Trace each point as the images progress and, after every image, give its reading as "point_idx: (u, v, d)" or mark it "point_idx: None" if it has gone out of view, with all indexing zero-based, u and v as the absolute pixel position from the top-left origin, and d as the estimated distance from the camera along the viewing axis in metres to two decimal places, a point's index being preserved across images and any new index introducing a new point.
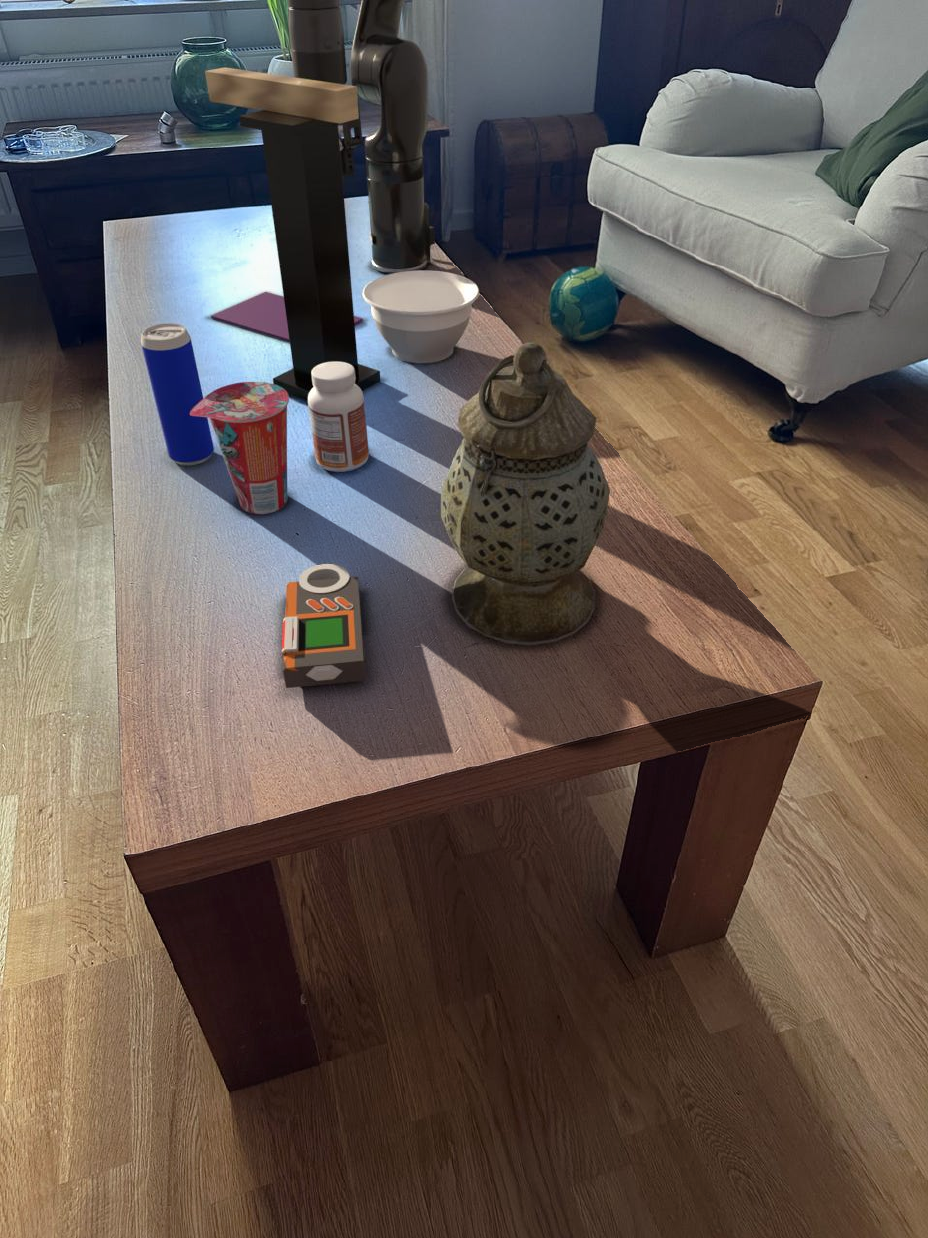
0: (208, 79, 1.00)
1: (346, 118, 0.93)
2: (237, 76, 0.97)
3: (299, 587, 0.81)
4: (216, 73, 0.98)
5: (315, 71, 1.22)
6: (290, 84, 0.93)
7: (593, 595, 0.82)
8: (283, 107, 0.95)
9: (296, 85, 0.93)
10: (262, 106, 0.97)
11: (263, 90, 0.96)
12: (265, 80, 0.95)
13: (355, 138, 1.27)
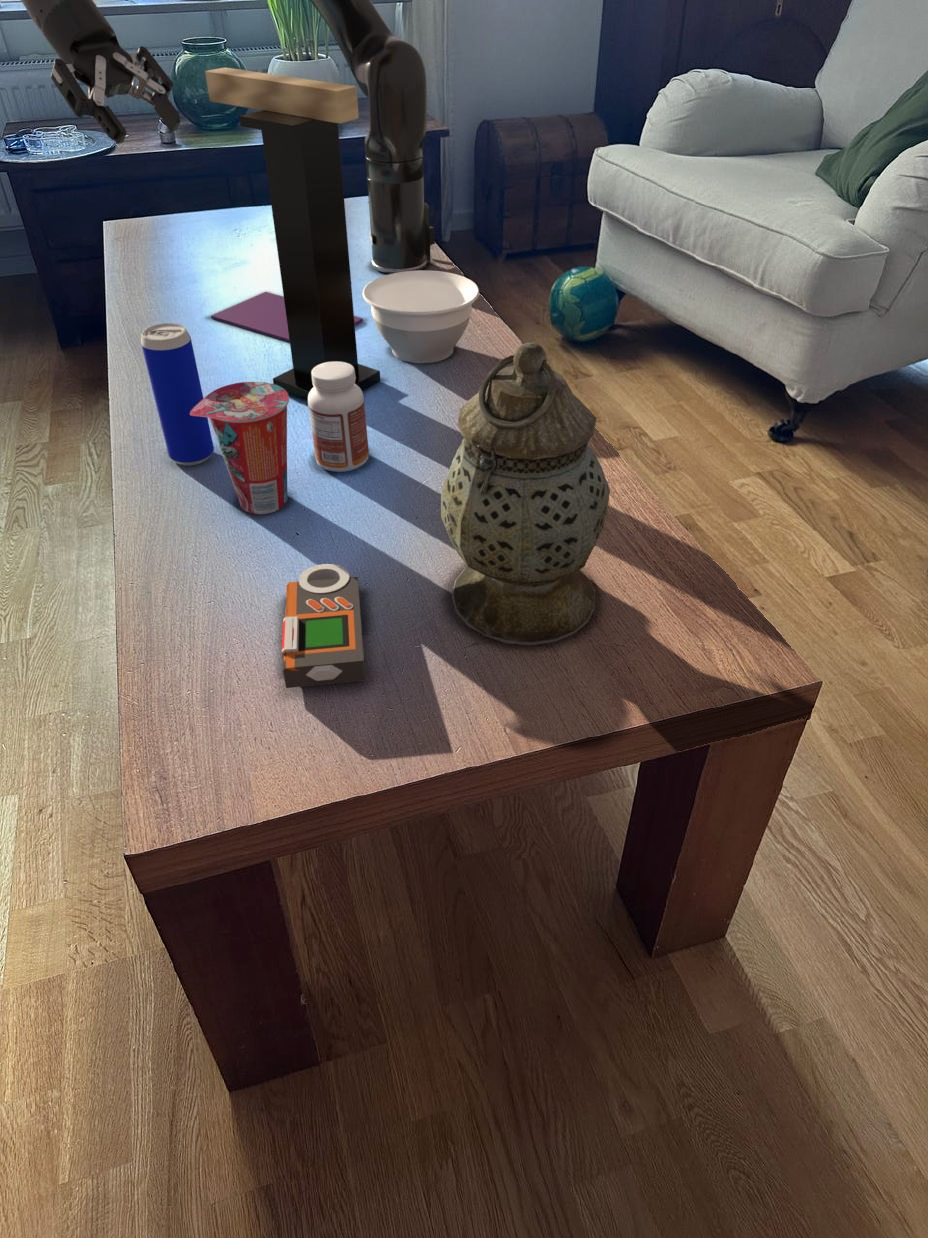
0: (208, 79, 1.00)
1: (346, 118, 0.93)
2: (237, 76, 0.97)
3: (299, 587, 0.81)
4: (216, 73, 0.98)
5: None
6: (290, 84, 0.93)
7: (593, 595, 0.82)
8: (283, 107, 0.95)
9: (296, 85, 0.93)
10: (262, 106, 0.97)
11: (263, 90, 0.96)
12: (265, 80, 0.95)
13: (76, 101, 1.07)
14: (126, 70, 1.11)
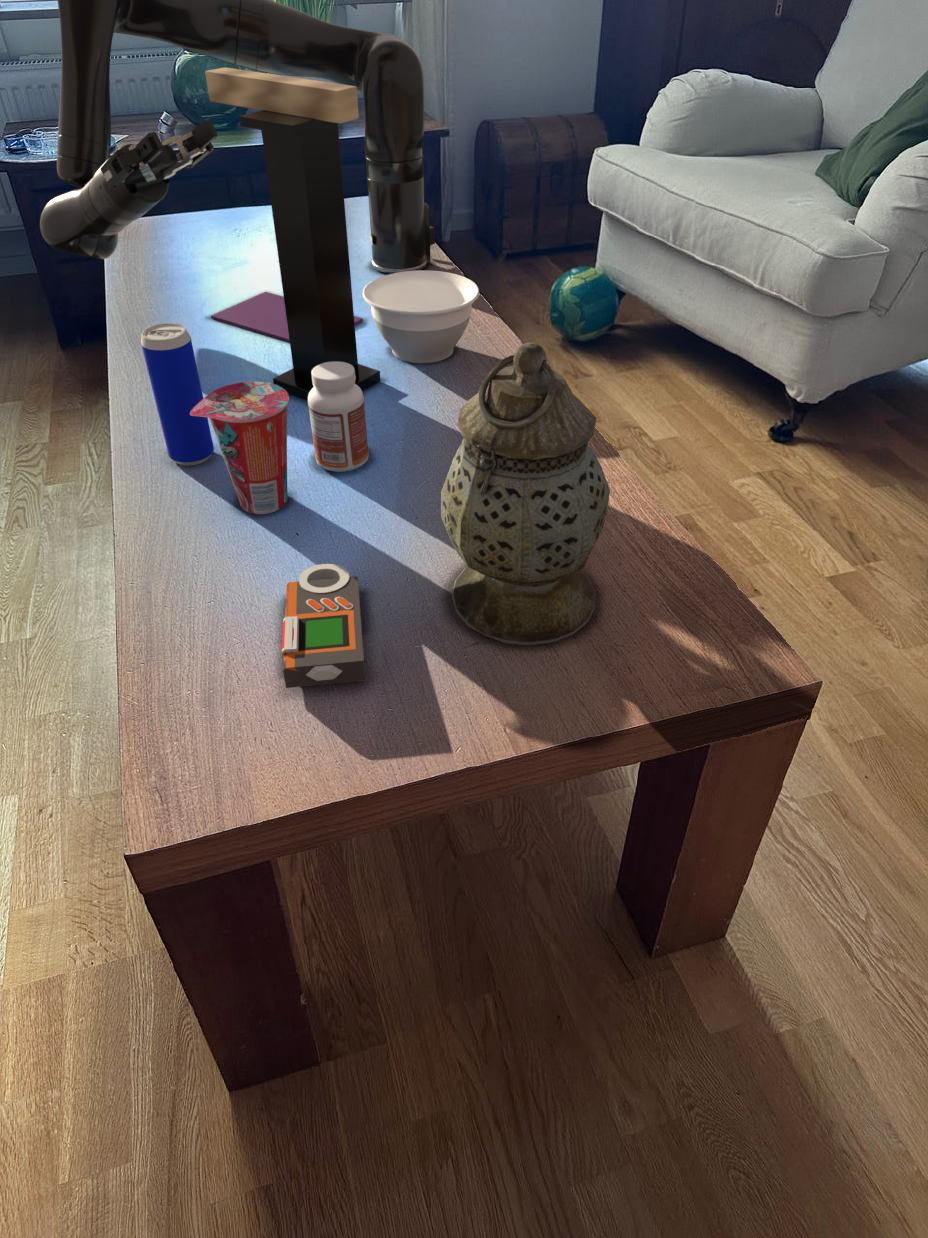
0: (208, 79, 1.00)
1: (346, 118, 0.93)
2: (237, 76, 0.97)
3: (299, 586, 0.81)
4: (216, 73, 0.98)
5: (131, 203, 1.17)
6: (290, 84, 0.93)
7: (593, 595, 0.82)
8: (283, 107, 0.95)
9: (296, 85, 0.93)
10: (262, 106, 0.97)
11: (263, 90, 0.96)
12: (265, 80, 0.95)
13: (119, 162, 1.08)
14: None
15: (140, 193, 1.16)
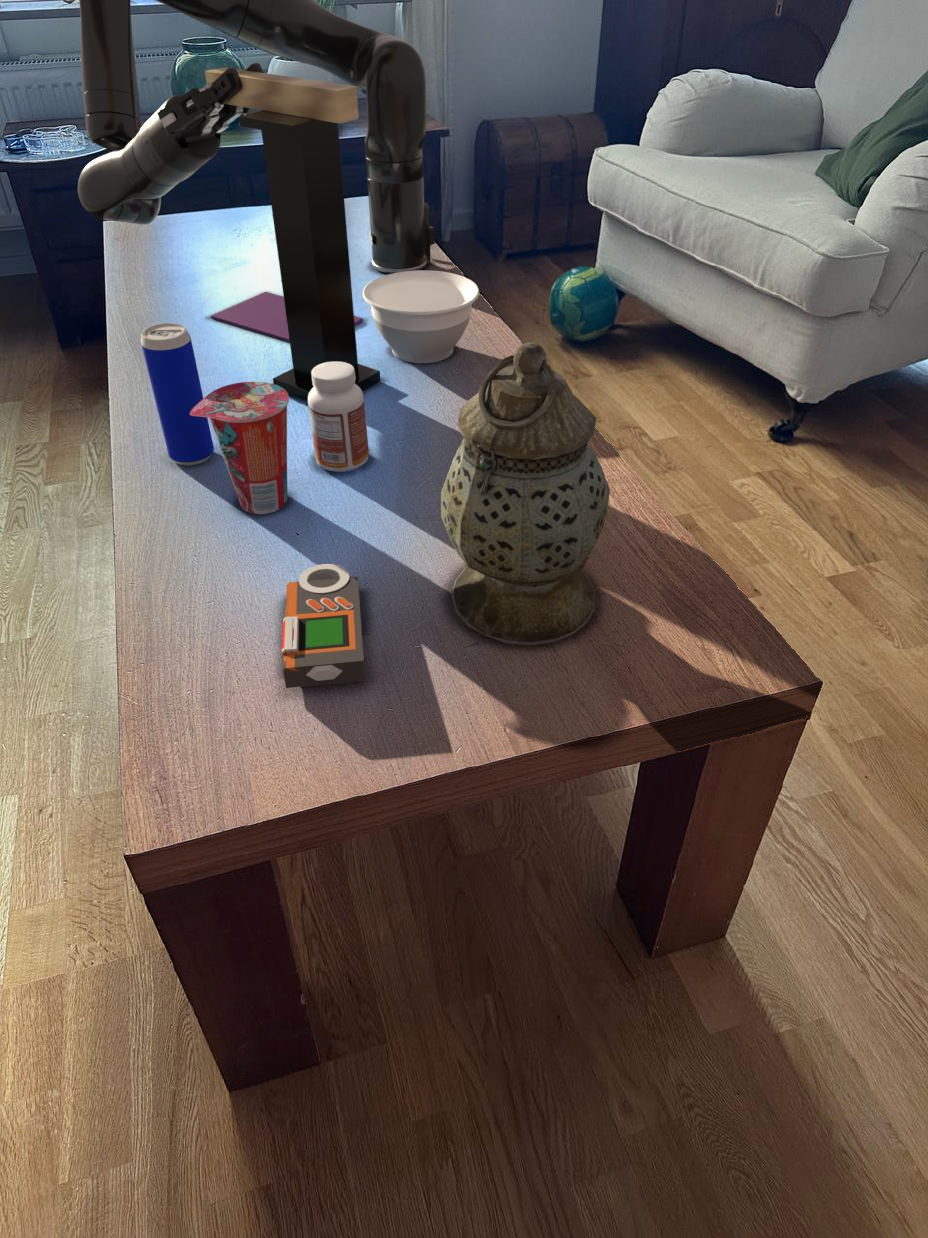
0: (208, 79, 0.99)
1: (346, 118, 0.93)
2: None
3: (299, 587, 0.81)
4: (216, 73, 0.98)
5: (180, 160, 1.07)
6: (290, 84, 0.93)
7: (593, 595, 0.82)
8: (283, 108, 0.95)
9: (296, 85, 0.93)
10: (262, 106, 0.97)
11: (263, 90, 0.96)
12: (265, 80, 0.95)
13: (193, 102, 0.99)
14: None
15: (190, 148, 1.06)
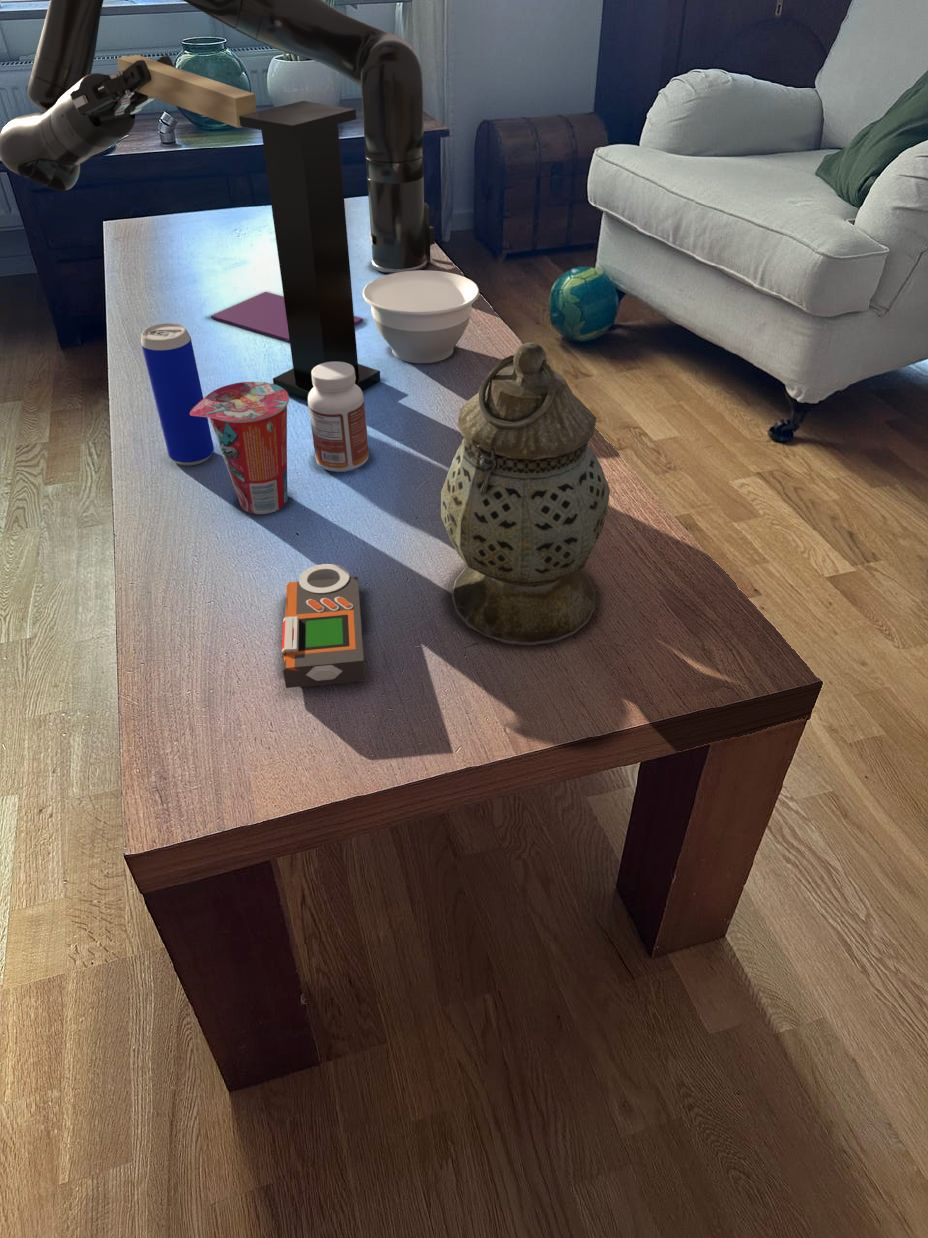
0: (120, 66, 1.05)
1: None
2: None
3: (299, 587, 0.81)
4: (127, 62, 1.04)
5: (94, 136, 1.13)
6: (193, 84, 1.00)
7: (593, 595, 0.82)
8: (188, 104, 1.02)
9: (199, 86, 0.99)
10: (169, 99, 1.03)
11: (170, 85, 1.02)
12: (171, 76, 1.01)
13: (104, 88, 1.05)
14: None
15: (104, 127, 1.12)
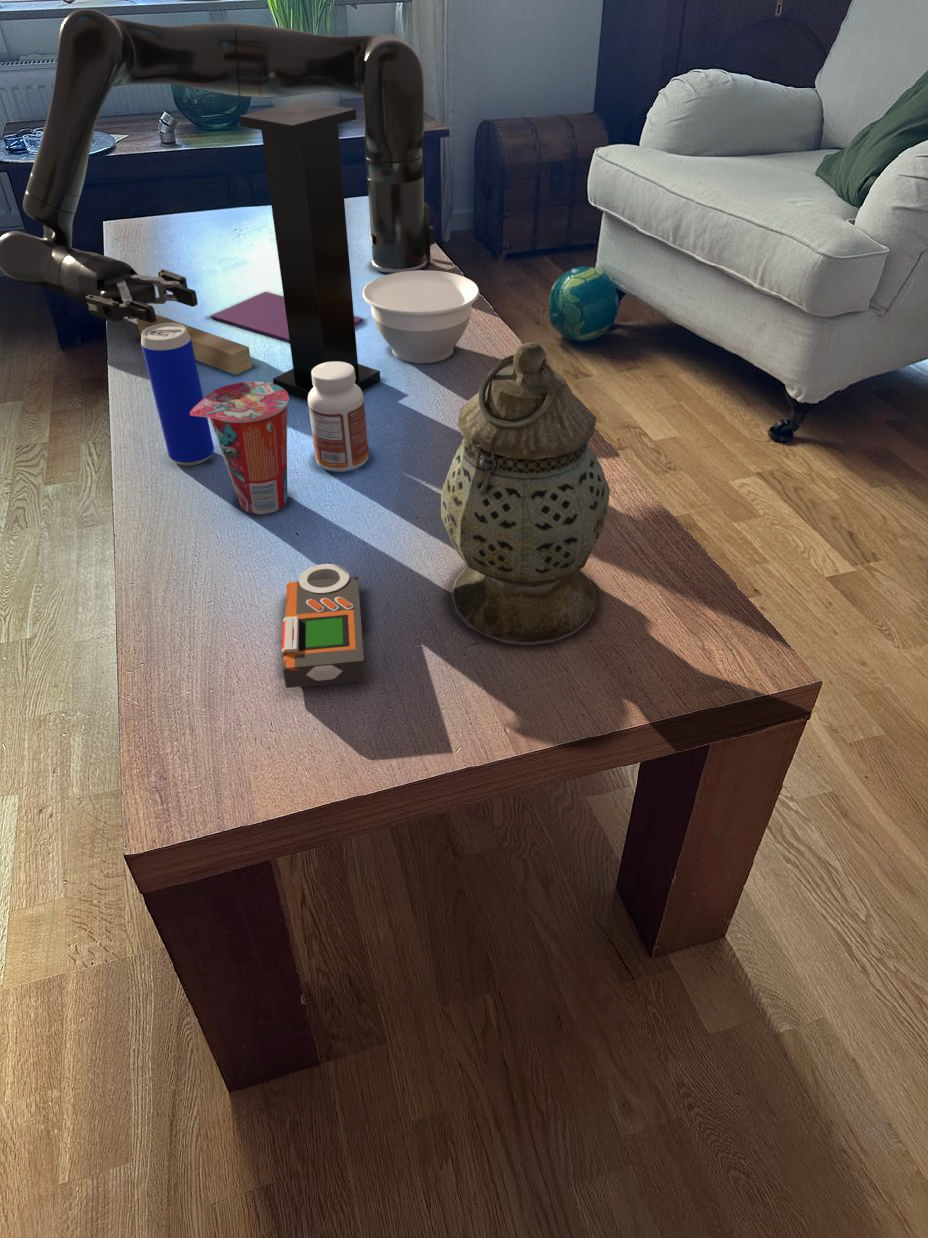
0: (139, 325, 1.27)
1: (241, 370, 1.20)
2: None
3: (299, 587, 0.81)
4: (145, 323, 1.26)
5: None
6: (198, 342, 1.21)
7: (593, 595, 0.82)
8: (195, 356, 1.23)
9: (203, 344, 1.20)
10: None
11: None
12: None
13: (111, 310, 1.21)
14: (144, 281, 1.26)
15: None
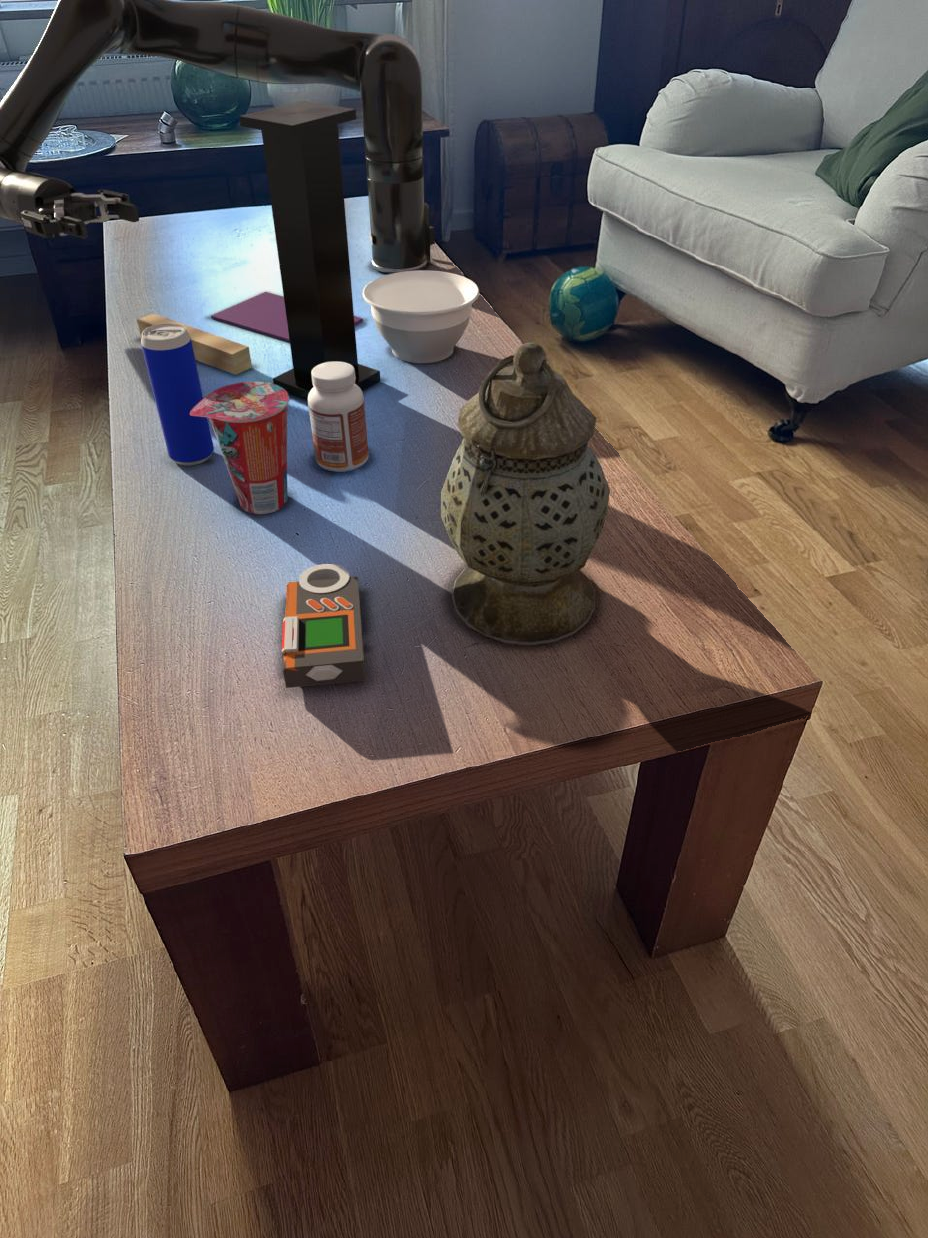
0: (139, 325, 1.27)
1: (241, 370, 1.20)
2: None
3: (299, 587, 0.81)
4: (145, 323, 1.26)
5: None
6: (198, 342, 1.21)
7: (593, 595, 0.82)
8: (195, 356, 1.23)
9: (203, 344, 1.20)
10: None
11: None
12: None
13: (42, 226, 1.19)
14: (84, 199, 1.24)
15: None
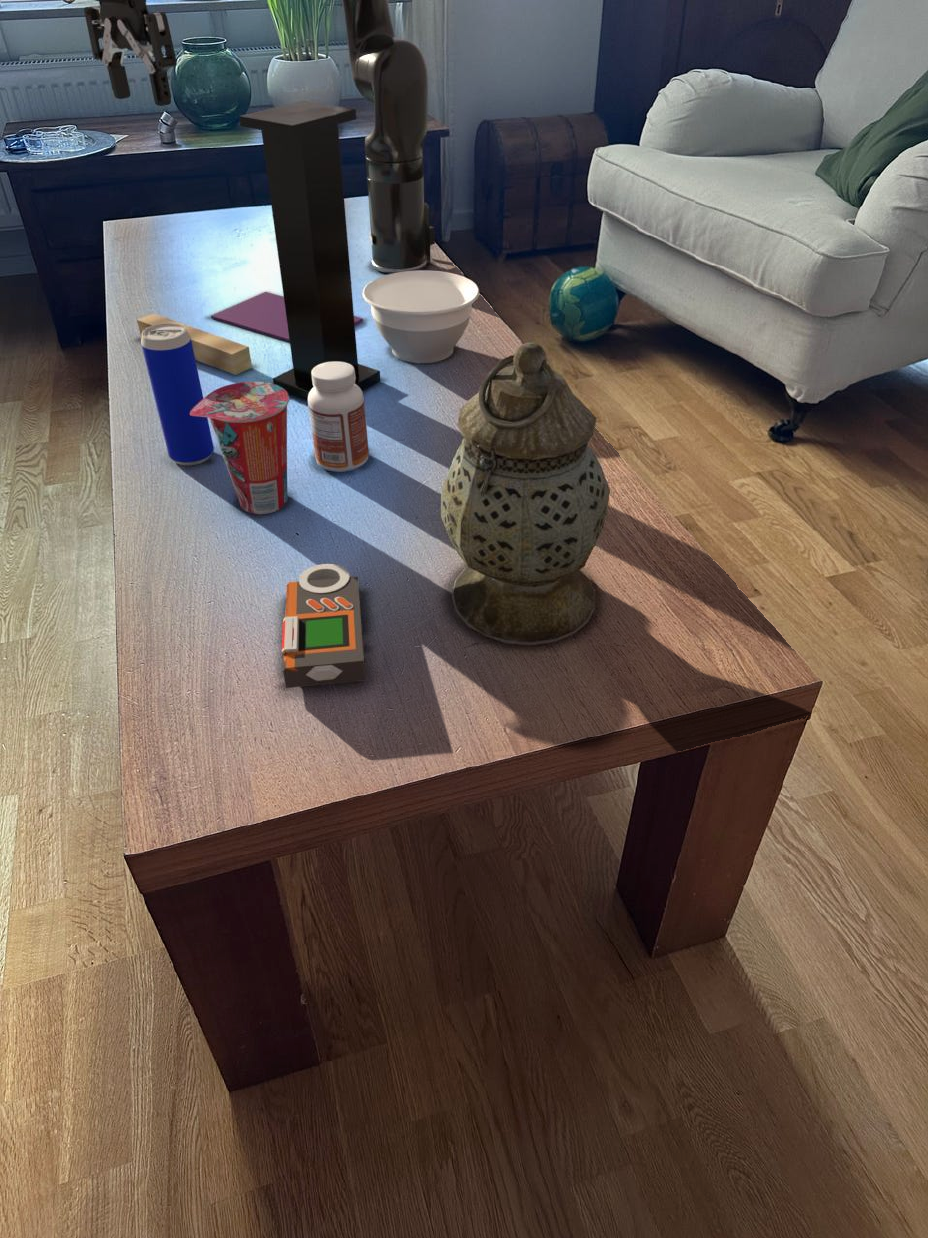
0: (139, 325, 1.27)
1: (241, 370, 1.20)
2: None
3: (299, 586, 0.81)
4: (145, 323, 1.26)
5: None
6: (198, 342, 1.21)
7: (593, 595, 0.82)
8: (195, 356, 1.23)
9: (203, 344, 1.20)
10: None
11: None
12: None
13: (167, 58, 1.14)
14: None
15: (116, 1, 1.11)
